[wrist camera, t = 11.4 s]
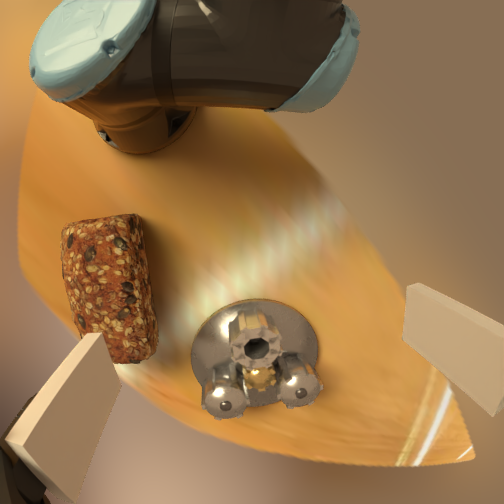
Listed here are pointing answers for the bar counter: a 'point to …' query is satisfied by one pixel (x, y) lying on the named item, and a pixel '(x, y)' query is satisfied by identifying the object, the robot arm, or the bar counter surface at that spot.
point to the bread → (111, 284)
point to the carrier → (260, 379)
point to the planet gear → (249, 328)
